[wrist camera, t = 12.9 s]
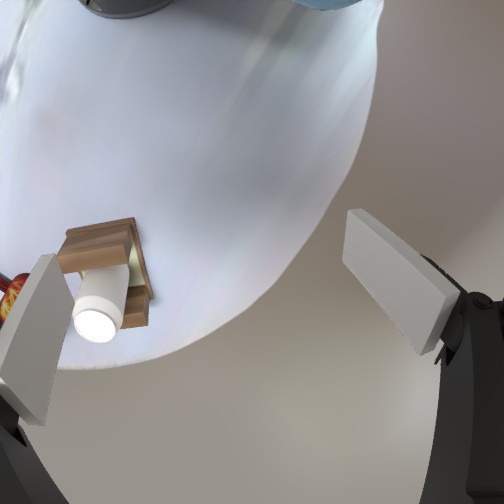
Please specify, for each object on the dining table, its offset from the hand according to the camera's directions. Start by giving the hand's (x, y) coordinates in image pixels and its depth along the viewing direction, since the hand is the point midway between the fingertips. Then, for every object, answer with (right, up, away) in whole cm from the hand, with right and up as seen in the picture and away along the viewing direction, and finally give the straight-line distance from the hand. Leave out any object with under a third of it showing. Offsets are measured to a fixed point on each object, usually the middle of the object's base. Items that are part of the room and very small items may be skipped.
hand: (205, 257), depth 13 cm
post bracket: (-18, -2, +28) cm, 33 cm away
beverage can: (-18, -2, +27) cm, 32 cm away
